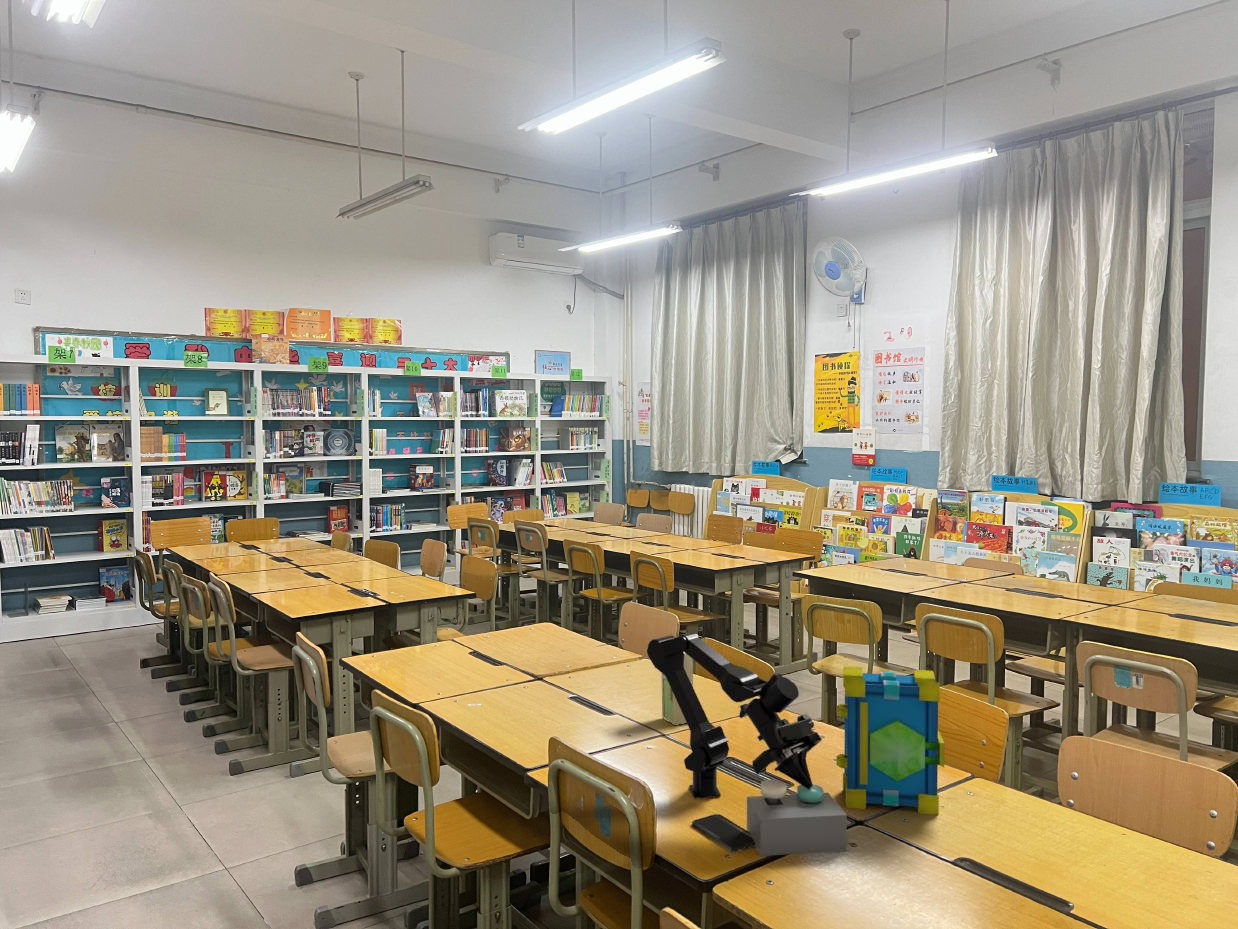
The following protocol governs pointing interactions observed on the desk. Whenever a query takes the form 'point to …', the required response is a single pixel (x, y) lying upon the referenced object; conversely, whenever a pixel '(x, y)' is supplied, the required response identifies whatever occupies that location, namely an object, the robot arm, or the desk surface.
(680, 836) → the desk surface
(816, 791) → the teal button
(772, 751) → the robot arm
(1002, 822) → the desk surface
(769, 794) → the cream button
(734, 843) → the phone
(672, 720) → the toy refrigerator
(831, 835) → the button box
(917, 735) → the decorative book
